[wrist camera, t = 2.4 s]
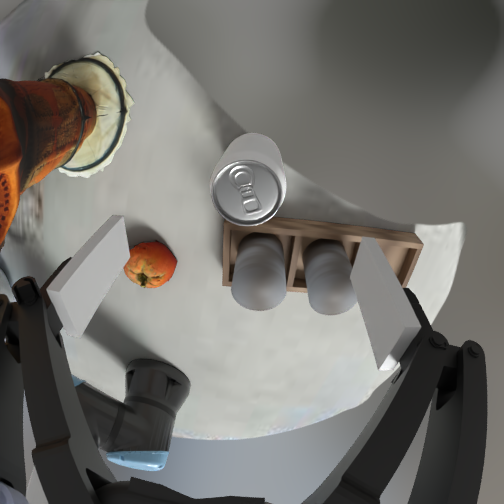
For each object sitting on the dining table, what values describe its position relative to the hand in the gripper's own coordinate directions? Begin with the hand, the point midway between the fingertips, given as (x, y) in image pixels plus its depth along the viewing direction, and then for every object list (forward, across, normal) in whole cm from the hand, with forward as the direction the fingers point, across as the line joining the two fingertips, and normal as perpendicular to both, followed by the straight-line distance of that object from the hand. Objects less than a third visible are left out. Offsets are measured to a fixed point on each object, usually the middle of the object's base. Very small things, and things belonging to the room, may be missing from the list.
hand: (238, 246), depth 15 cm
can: (+20, 0, 0) cm, 20 cm away
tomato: (+20, +14, +16) cm, 29 cm away
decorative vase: (+20, +24, -6) cm, 32 cm away
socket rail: (+20, -10, +12) cm, 26 cm away
